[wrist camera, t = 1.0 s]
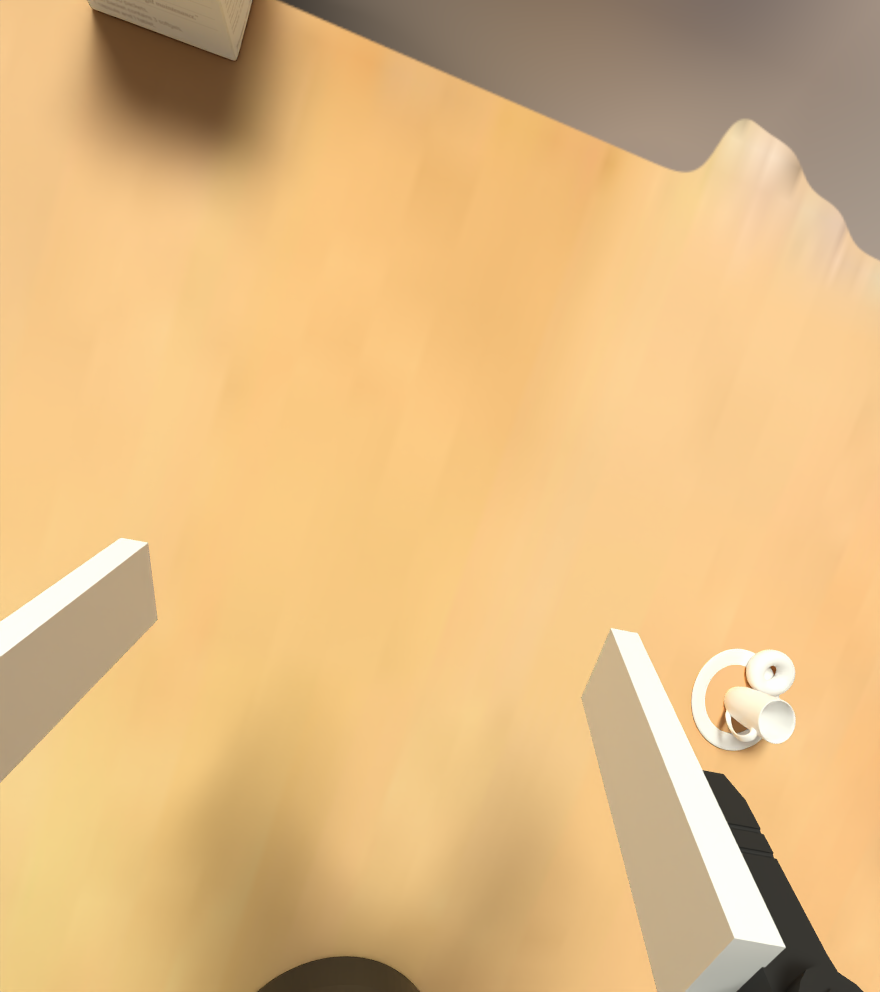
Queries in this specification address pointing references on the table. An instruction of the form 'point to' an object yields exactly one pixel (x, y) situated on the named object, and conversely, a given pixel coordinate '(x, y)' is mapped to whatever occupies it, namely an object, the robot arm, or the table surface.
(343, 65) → the table surface
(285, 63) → the table surface
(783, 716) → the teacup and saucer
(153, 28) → the supplement box
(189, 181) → the table surface
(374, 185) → the table surface
